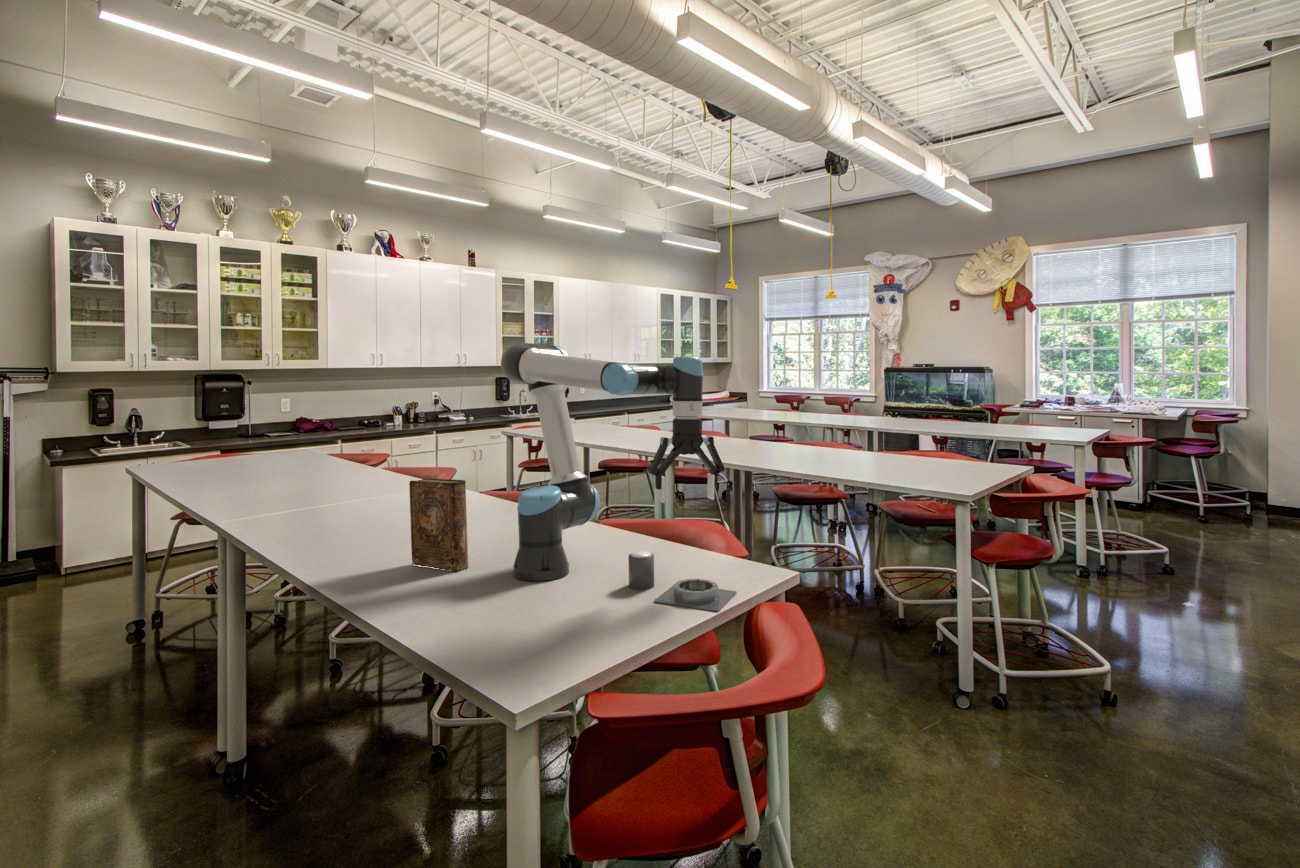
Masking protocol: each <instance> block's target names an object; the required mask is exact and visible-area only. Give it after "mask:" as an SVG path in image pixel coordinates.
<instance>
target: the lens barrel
mask: <svg viewBox="0 0 1300 868" xmlns="http://www.w3.org/2000/svg"><path fill="white" fill-rule="evenodd" d="M628 587H629V589H631V590H636V591H648V590H651V589H653V588H654V587H655V554H653V553H652V552H649V551H635V552H631V553H629V554H628Z"/></svg>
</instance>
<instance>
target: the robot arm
mask: <svg viewBox="0 0 1300 868" xmlns="http://www.w3.org/2000/svg"><path fill="white" fill-rule="evenodd" d="M500 367H501V370H502V373H503V374H504V376H505V377H506V378H507V379H508V380H509V381H510V382H513V383H516V384H522V385H527V388H528V393H529V394H530V395H531V396H532V397H534V398H535V401H536V405H537V412H538V416H539V420H540V425H541V431H542V435H543V441H544V447H545V450H546V455H547V461H548V465H549V471H550V476H551V477H550V480H549V482H548V484H547V485H540V486H534V487H529V488H528V489H524V490H523V491H522V492H521V493H520V494H519V495H518V499H517V502H518V503H517V509H516V510H517V517H518V518H517V522H518V523H517V524H518V550H517V552H516V556H515V558H514V564H513V567H512V573H513V574H512V575H513V577H514V578H516V579H518V580H520V581H521V580H522V581H527V582H545V581H552V580H557V579H560V578H563V577H565V576H567V575H568V574H569V573H570V563H569V561H568V557H567V554H566V552H565V549H564V546H563V530H568V529H570V528H574V527H576V526H578V527H579V526H583V525H585V524H586V523H588V522H591V521H592V520H593V519H594V518H595V517H596V516H597V513H598V512H599V509H600V505H601V499H600V495H599V492H598V490H597V489H596V488H595V487H594V485H592V484H590V483H589V479H588V475H586V474H585V473H583V472H582V471H581V467H580V461H579V458H578V457H579V456H578V452H577V447H576V442H575V437H574V433H573V428H572V423H571V417H570V413H569V408H568V403H567V398H566V393H565V392H566V391H567V389H568V388H569V387H576V388H580V389H581V388H582V389H587V390H594V391H602V392H608V393H609V394H612V395H616V396H626V395H664V394H665V395H672V416H673V417H674V418H673V420H672V436H671V438H669V437H665V436H662V437H660V441H659V446H658V449H657V450H656V453H655V455H654V457H653V459H652V461H651V463H650V465H649V467H648V470H647V472H648V473H649V474H650V475H652V476H654V478H655V479H654V480H655V481H654V486H655V487H654V488H655V489H657V490H658V502H659V503H662V504H665V503H666V476H663V475H664V474H665V472H666V471H667V470H668V469H669V467H670V466H671V465H672V463H674V461H676V459H677V458H678V457H679V456H680V455H683V456H686V455H691V456H692V455H696V456H698V458H699V459H700V461H701V462H702V463H703V465H704V466H705V467H706V468H707V469H708V471H709V473H707V488H706V489H707V496H706V497H707V499H708V500H711V501H715V487H717V486H718V481H719V480H718V479H719V478H718V477H719V475H720V473H722V472H725V469H726V468H725V466H724V464H723V462H722V460H721V457H720V455H719V453H718V452H719V451H718V450H717V448H716V446H715V439H714V437H713V436H710V435H706V436H705V437H703V420H702V418H701V417H702V416H703V383H704V380H703V379H704V368H703V360H702V358H701V357H699V356H675V357H674V358H673V359H672V364H639V363H638V364H636V363H624V362H615V361H608V360H600V359H594V358H593V359H591V358H583V357H576V356H570V354H569V353H568V352H567V351H566V350H565V349H564V348H562V347H561V346H557V345H553V344H550V343H544V344H543V343H529V342H518V343H513V344H512V345H510V346H508V347H507V348H506V349H505V351H503V354H502V356H501V358H500ZM703 443H704V445H706V448H707V450H708V452H709V455H710V457H711V459H712V461H713V462H712V461H711V459H710V458H709V457H708V456H707V455H706V454H705V452H704V450H703V449H702V448H701V447H702V445H703ZM670 445H672V446H673V448H671V450H670V452H669V454H668V455H667V456H666V457H665V456H664V455H665V454H666V451H667V450H668V447H670ZM664 457H665V458H664ZM663 458H664V460H663ZM662 460H663V461H662ZM661 462H662V463H661Z"/></svg>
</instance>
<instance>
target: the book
mask: <svg viewBox="0 0 1300 868" xmlns="http://www.w3.org/2000/svg"><path fill="white" fill-rule="evenodd" d="M408 487H409V513H410V542H411V545H410V546H411V562H412V565H413V564H415V565H421V566H428V567H434V568H439V569H445V570H451V571H460V572H462V571H461V570H464V569H466V568H468V569H469V554H468V549H469V547H468V524H467V522H468V520H467V519H468V517H467V516H468V515H467V492H466V489H467V488H466V487H467V486H466V480H465V479H453V478H452V479H450V478H435V477H434V478H431V477H423V478H422V479H418V480H410V481H409V486H408ZM466 570H467V569H466ZM451 571H450V572H451ZM464 571H465V570H464Z"/></svg>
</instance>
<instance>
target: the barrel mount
mask: <svg viewBox="0 0 1300 868" xmlns="http://www.w3.org/2000/svg"><path fill="white" fill-rule="evenodd" d="M736 594H738V593H737V590H729V589H724V588H723V589H722V588H719V585H718V583H716V582H715V581H712V580H710V579H705V578H704V579H703V578H686V579H682V580H681V579H680V580H677V581H676V582H675V583H674V584H673V585H672V586H671V587H670V588H668V589H667V590H665V591H664V592H663V593H662V594H660V595H659V596H657V597H656V598H655V599H654V600H653V603H654V604H661V605H670V606H676V607H683V608H689V609H690V608H691V609H695V608H696V610H702V609H704V610H703V611H708V610H712V611H711V612H715V611H718V612H717V613H719V612H720V611H721V610H722V609H723V608H724V607H725V606H726V604H728V603H729V601H731V599H732V598H734V596H736Z"/></svg>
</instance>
